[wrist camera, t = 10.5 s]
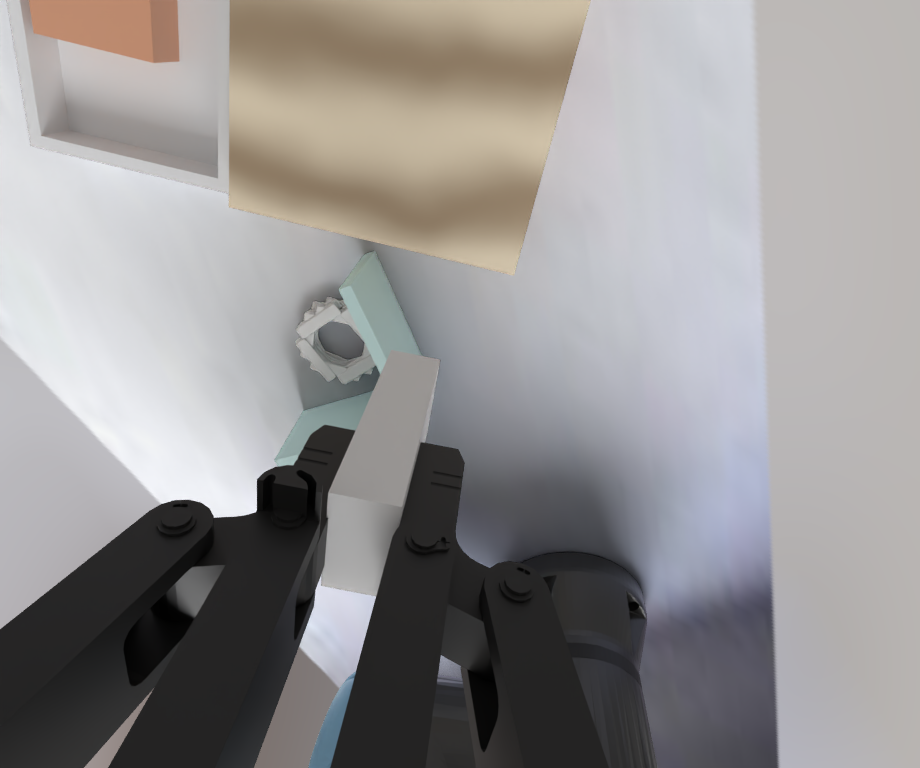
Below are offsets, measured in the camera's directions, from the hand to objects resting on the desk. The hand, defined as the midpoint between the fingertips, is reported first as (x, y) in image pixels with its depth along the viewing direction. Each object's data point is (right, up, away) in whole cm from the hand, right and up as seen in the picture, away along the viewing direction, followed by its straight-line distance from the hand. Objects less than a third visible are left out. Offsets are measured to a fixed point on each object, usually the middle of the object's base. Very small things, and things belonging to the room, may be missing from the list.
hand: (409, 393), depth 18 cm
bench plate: (-1, +20, +18) cm, 27 cm away
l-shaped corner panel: (-8, +4, +29) cm, 31 cm away
